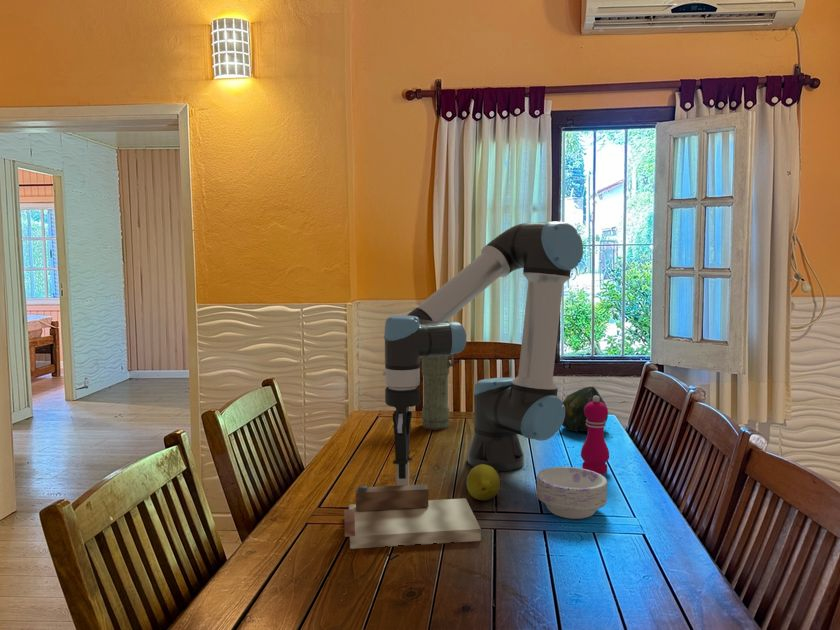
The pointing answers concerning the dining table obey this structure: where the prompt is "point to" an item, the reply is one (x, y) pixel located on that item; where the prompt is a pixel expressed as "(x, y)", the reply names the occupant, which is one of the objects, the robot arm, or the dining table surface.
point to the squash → (578, 408)
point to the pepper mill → (595, 437)
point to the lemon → (483, 482)
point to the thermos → (436, 391)
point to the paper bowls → (571, 491)
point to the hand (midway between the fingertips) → (402, 490)
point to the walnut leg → (391, 497)
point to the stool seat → (412, 525)
